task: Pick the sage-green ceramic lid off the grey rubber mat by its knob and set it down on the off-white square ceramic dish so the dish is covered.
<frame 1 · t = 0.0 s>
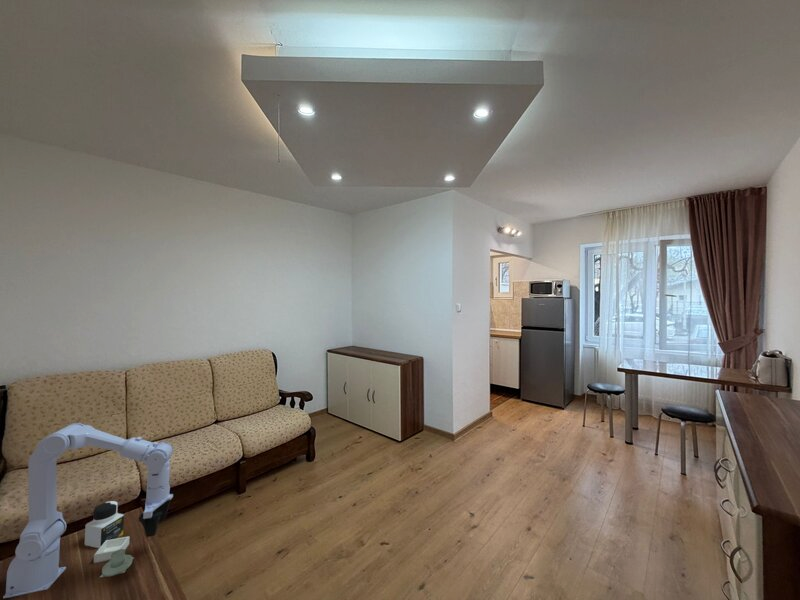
hand: (156, 527, 100), 10 cm above the table, fingers open, 7 cm apart
mat: (117, 568, 96), on the table
dish: (112, 554, 101), on the table
lid: (117, 566, 96), resting on mat
medicine bottle: (104, 540, 107), on the table
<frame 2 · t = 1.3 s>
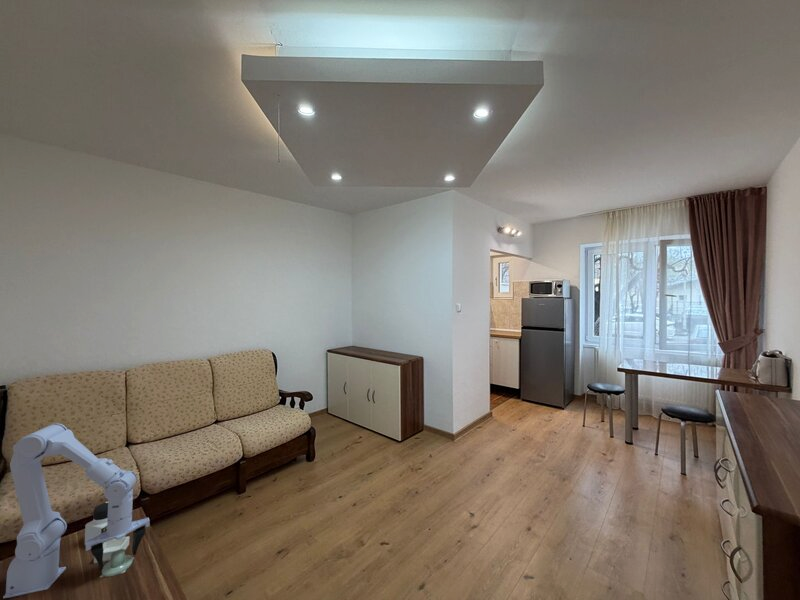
hand: (117, 560, 96), 2 cm above the table, fingers open, 7 cm apart
nothing on the table moved.
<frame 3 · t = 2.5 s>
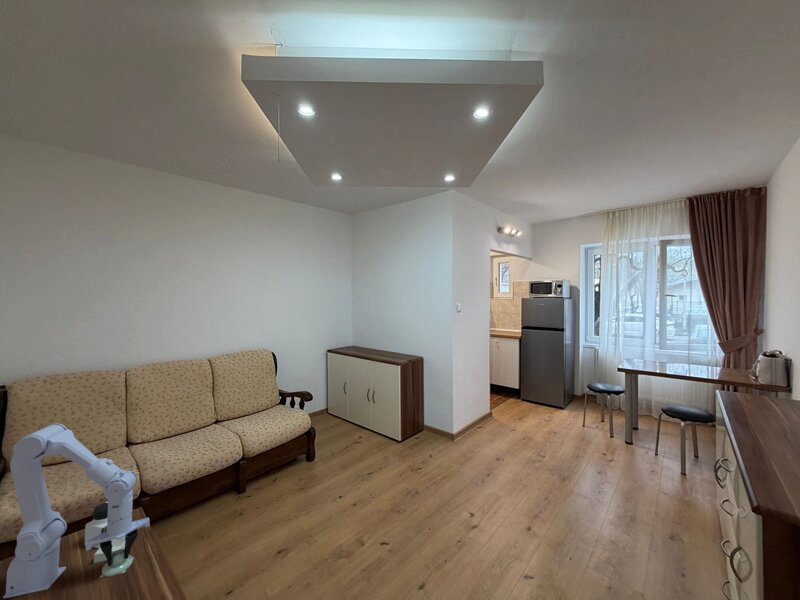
hand: (117, 560, 96), 2 cm above the table, fingers closed on lid, 3 cm apart
lid: (117, 566, 96), resting on mat, touching gripper
everything else where it was.
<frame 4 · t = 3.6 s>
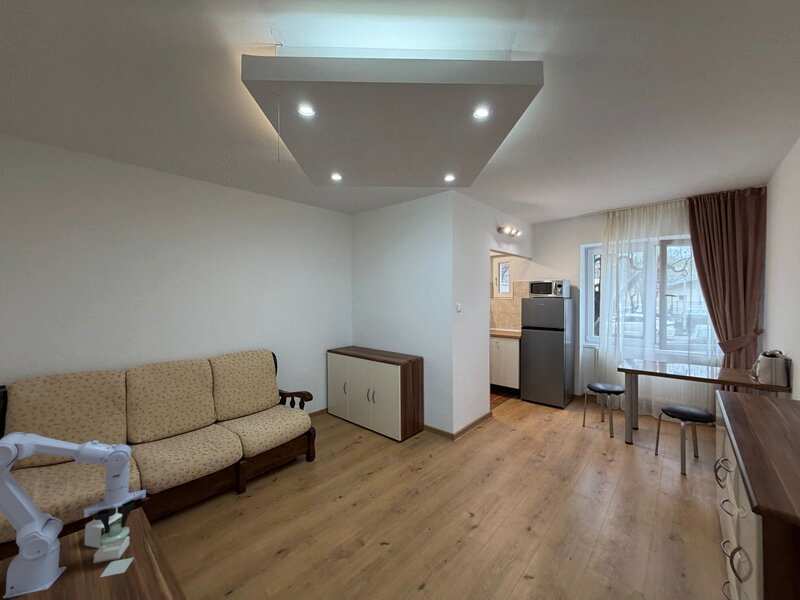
hand: (114, 529, 100), 9 cm above the table, fingers closed on lid, 3 cm apart
lid: (114, 537, 99), point 7 cm above the table, touching gripper
everything else where it was.
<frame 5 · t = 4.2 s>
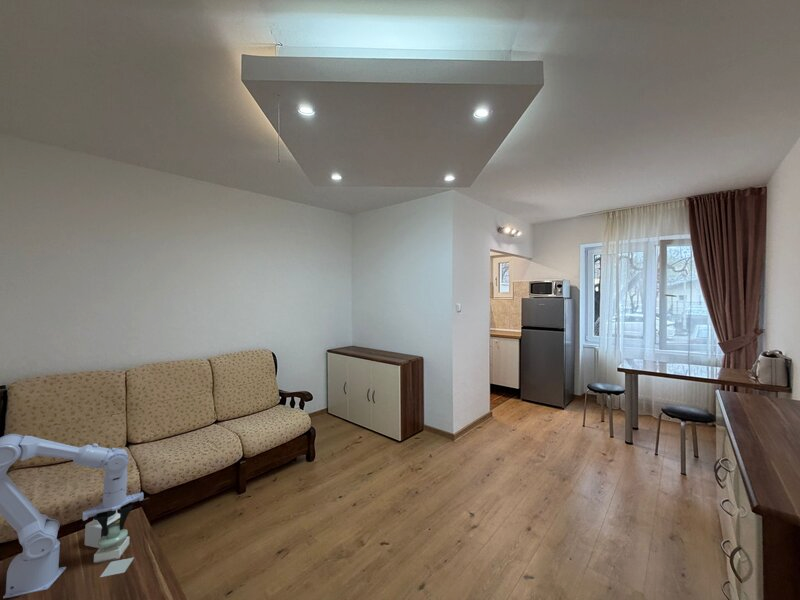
hand: (113, 531, 102), 7 cm above the table, fingers closed on lid, 3 cm apart
lid: (113, 539, 101), point 5 cm above the table, touching gripper
everything else where it was.
when the fingers open (6 cm above the table, at t = 4.7 s): lid stays where it is, resting on dish.
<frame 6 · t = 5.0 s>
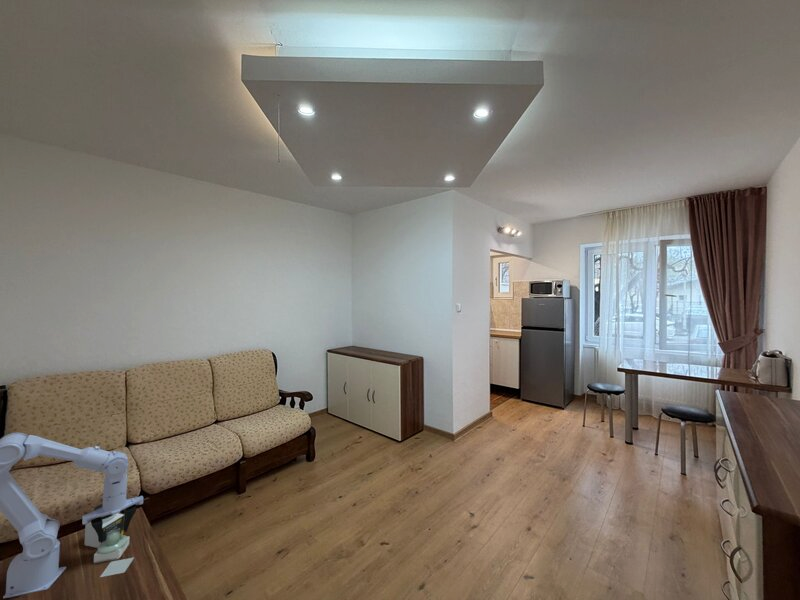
hand: (113, 535, 101), 6 cm above the table, fingers open, 5 cm apart
dish: (112, 554, 101), on the table, touching lid
lid: (112, 545, 101), point 3 cm above the table, touching dish
everything else where it was.
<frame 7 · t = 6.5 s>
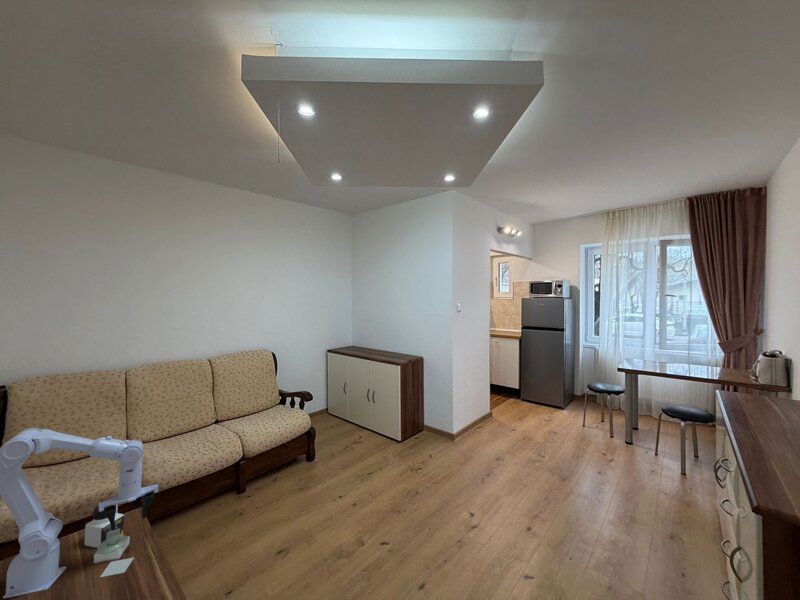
hand: (128, 522, 102), 10 cm above the table, fingers open, 7 cm apart
nothing on the table moved.
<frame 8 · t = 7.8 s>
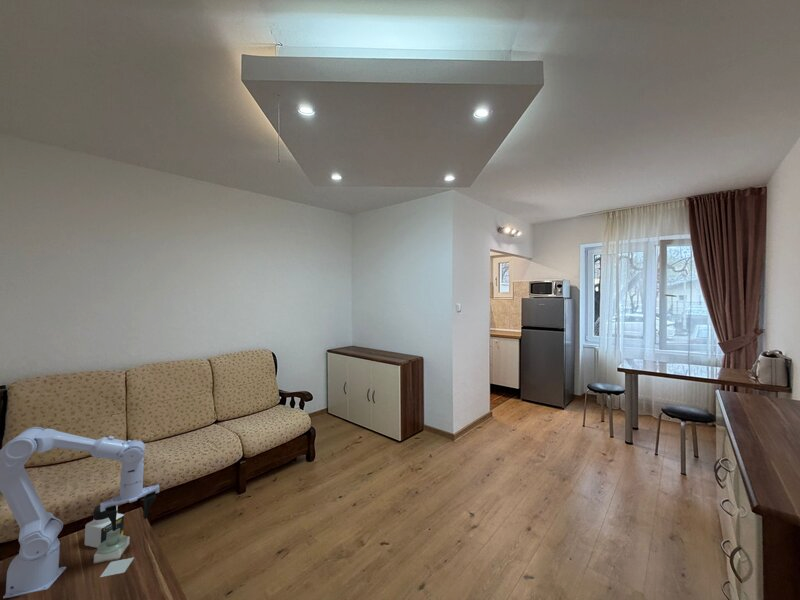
hand: (130, 523, 102), 10 cm above the table, fingers open, 7 cm apart
nothing on the table moved.
at the end: lid 0.4 cm off-centre on the dish, point 3.0 cm above the dish's base; lid tilted 0°; the gripper is holding nothing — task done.
